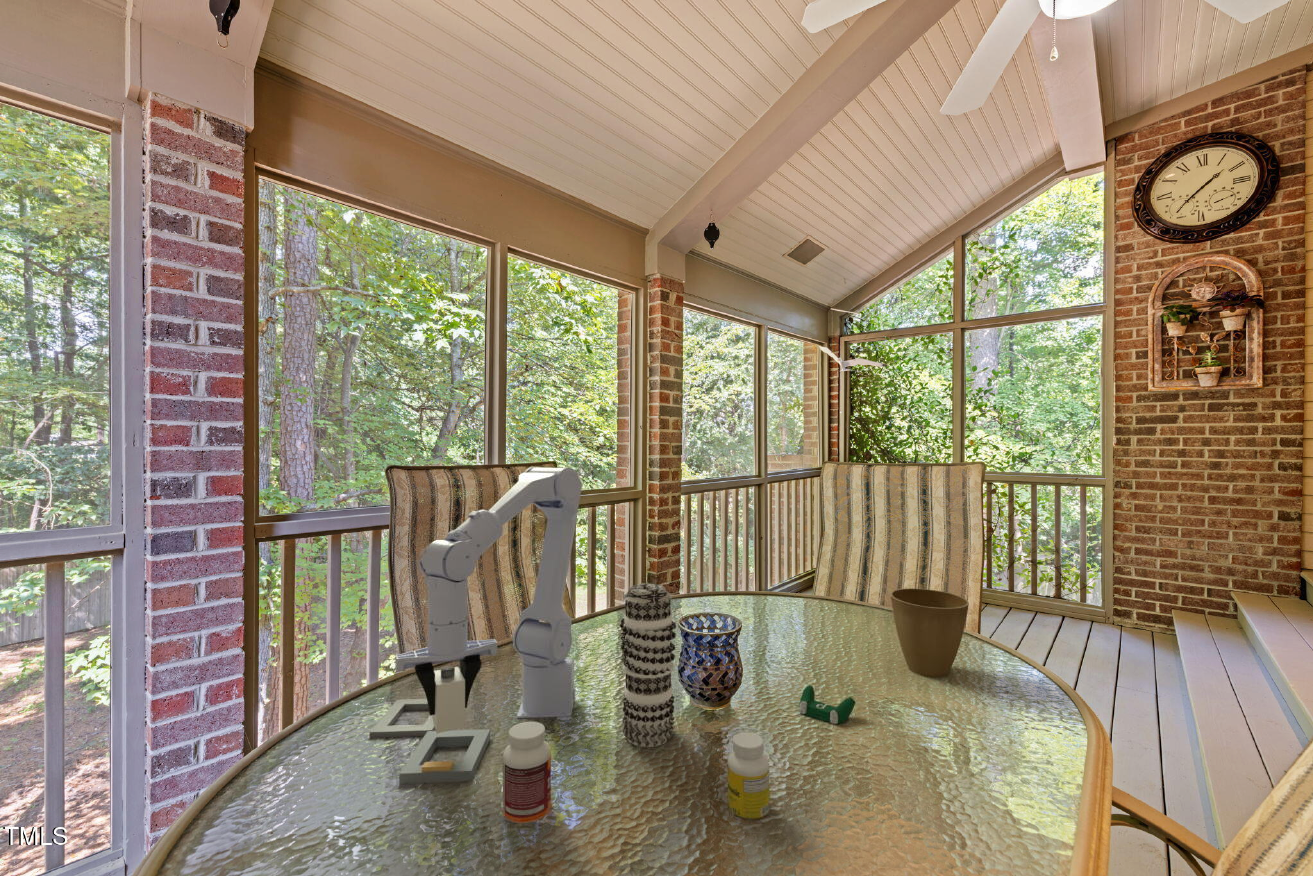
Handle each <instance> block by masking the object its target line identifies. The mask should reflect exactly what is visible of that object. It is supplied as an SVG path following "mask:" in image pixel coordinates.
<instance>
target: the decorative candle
mask: <svg viewBox="0 0 1313 876" xmlns="http://www.w3.org/2000/svg"><path fill="white" fill-rule="evenodd" d="M672 598H673V594H671V593H669V592H668V590H667V589H666V587H665V586H663V585H661V584H657V583H651V582H648V583H647V582H646V583H645V582H644V583H638V584H634V585H632V586H631V587H630V588H629V589H628V591H627V592H626V593H625V594H623V595H622V599H624V600H625V603H624V605H625V608H624V609H625V611H624V612H625V613H624V615H623V616H624V618H622V619H621V620H620V623H619V627H620V628H621V633H620V635H621V636H620V640H621V645H620V649H621V650H622V652H621V653H622V655H621V657H622V658H621V662H622V663H623V664H622V671H623V672H624V673H625V683H624V694H623V696H622V702H623V707H622V712H623V717H622V719H621V720H622V724H623V727H622V730H621V731H622V733H623V735H624V737H625V739H627V741H628V742H629V743H630V744H631V745H632V744H633V745H635V746H637V747H643V748H651V747H657V746H662V745H663V744H666V743H667V742H668V741H669V740H670V739H671V738H672V736H673V735H674V734H675V731H674V730H675V726H674V725H675V721H674V720H675V717H674V714H673V713H674V712H675V706H674V703H675V696H674V694H673V685H672V684H673V683H672V672H673V671H674V670H675V669H674V668H675V667H674V662H673V661H674V660H675V658H676V655H675V654H674V653H673V652H674V651H675V650H676V645H675V644H674V643H672V642H671V641H672V640H673V639H675V638H676V637H677V636H676V635H677V634H676V632H675V631H673V630H674V629H676V628H677V624H676V622H674V621H673V616H672V609H671V608H672V607H671V605H672V601H671V599H672Z"/></svg>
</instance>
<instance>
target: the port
mask: <svg viewBox="0 0 1313 876" xmlns="http://www.w3.org/2000/svg"><path fill="white" fill-rule="evenodd" d="M490 741H491V729H490V728H489V729H487V728H486V729H454V730H450V731H446V732H441V733H436V730H435V731H427V733H426V734H425V736H422V739H421V740H420V742H419V744H418V745H417V747H416V748H415V750H414V751H413V752H412V754H411V755H410V757H409V759H408V760H407V762H406V763H405V765H404V766H403V767H402V769H401V770H400V772H399V775H398V776H399V777H398V778H399V781H398V782H399V785H404V784H405V785H407V784H425V783H426V784H427V783H428V784H429V783H430V784H431V783H432V784H433V783H449V782H450V783H453V782H455V783H456V782H472V780H473V778H474V776H475V775H476V771H477V769H478V767H479V765H480V763H481V760H482V758H483V756H484V753H486V750H487V747H488V745H489V743H490ZM448 747H449V748H450V747H451V748H452V747H453V748H455V747H456V748H457V747H468V748H467V750H466V752H465V754H464V757H463V759H462V761H461V763H454V760H444V761H443V760H442V761H440V760H439V761H429V760H430V758H431V757H432V755H433V754H434V752H435V750H436V749H437V748H448Z"/></svg>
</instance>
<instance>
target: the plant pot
mask: <svg viewBox="0 0 1313 876" xmlns="http://www.w3.org/2000/svg"><path fill="white" fill-rule="evenodd" d="M890 601H891V609H892V614H893V620H894V626H895V630H896V633H897V637H898V640H899V645H900V647H901V651H902V654H903V657H904V661H905V663H906V665H907V669H908V670H909V671H910V672H912V673H913V674H916V675H919V676H923V677H927V678H944V677H947V676H948V675H949V674H950V672H951V669H952V667H953V665H954V661H955V660H956V656H957V654H958V651H959V648H960V646H961V642H962V639H963V636H964V631H965V627H966V624H967V623H966V621H967V617H968V613H969V612H968V611H969V606H970V605H969V604H970V601H969V600H968V599H967V598H965V597H963V596H960V595H958V594H954V593H951V592H946V591H942V590H937V589H930V588H929V589H928V588H913V587H912V588H911V587H910V588H907V587H906V588H898V589H894V590H893V591H891V593H890Z"/></svg>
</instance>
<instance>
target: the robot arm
mask: <svg viewBox="0 0 1313 876" xmlns="http://www.w3.org/2000/svg"><path fill="white" fill-rule="evenodd" d="M582 487H583V481H582V480H581V479H580V477H579V475H578V473H577V471H576V470H575V469H574V468H572V467H569V466H568V467H567V466H566V467H539V466H530V467H528V468H527V469H526V470H524V472H522V473H520V474H519V475H518V479H517V482H516V483H515V484H514V485H513V486H512V487H511V488H510V489H509V490H508V491H507V492H506V493H505V494H504V495H503V496H502V497H501V498H500V499H498V501H497V502H496V503H494V504H493V506H492V507H491V508H490V509H488V510H486V509H478V510H473V511H471V512H470V513H469V514H468V518H467V519H466V520H465V521H464V522H462V523H461V524H460V525H459V526H458V527H456V528H455V529H451V530H450V531H449V532H447V535H446V536H445V538H444V539H437V540H434V541H432V542H430V544H429V545H427V547H425V549H424V550H423V552H422V555H421V559H419V560H418V566H419V570H420V572H421V573H422V574H423V576H424V577H425V578H424V579H425V586H426V587H427V646H426V647H423V648H419V649H415V650H412V651H408V652H404V653H400V654H398V653H397V654H395V663H394V664H395V666H394V667H395V672H396V673H399V672H404V671H405V670H408V669H414V671H415V673H416V674H415V675H416V677H417V679H418V681H419V682H420V685H421V686H422V689H423V691H424V693H425V697H426V698H425V699H427V702H428V709H427V710H428V714H429V716H430V715H435V699H434V685H435V673H434V671H435V670H434V669H435V668H434V665H436V664H437V665H438V664H441V663H442V664H443V663H448V662H452V661H453V662H455V661H459V669H460V671H461V673H462V675H463V677H464V679H465V709H467V708H468V702H469V699H470V693H471V691H472V687H473V684H474V682H475V680H476V678H477V676H478V674H479V672H480V670H481V668H482V659H481V657H484V656H490V657H491V656H493V657H494V656H497V655H498V642H497V640H496V639H495V638H493V639H481V640H469V639H468V626H469V625H468V620H469V619H468V593H469V592H468V590H469V589H468V585H469V583H468V577H470V576H472V575H473V573H474V571H475V568H476V566H477V562H478V561H479V559H480V558H481V557H480V556H482V555H483V554H484V553H485V552H486V551H487V550H488V549H490V547H491V546H492V545H493V544H494V543H496V542H497V541H498V540H499V539H500V538H502V535H503V533H504V526H505V524H507V523H508V522H509V521H511V520H512V519H513V518H514V517H515V516H517V515H518V514H520V513H521V512H522V511H524V510H525V509H526V508H527V507H529V506H530V505H531V504H534V506H535V507H537V508H538V510H540V511H542V513H543V514H544V515H545V517H546V519H547V521H546V527H545V533H544V539H543V543H542V550H541V555H540V561H539V566H538V571H537V578H536V582H535V589H534V594H533V600H532V603H531V604H530V605H529V606H528V607H527V608H525V609H523V610H522V611H521V612H520V617H519V621H518V623H517V625H516V627H515V629H514V632H513V636H512V645H513V648H514V650H515V651H516V653H518V654H519V660H521V661H522V667H521V668H522V674H521V675H522V679H521V680H522V686H521V687H522V692H521V693H522V701H521V703H520V706H519V709H518V711H517V714H516V718H517V719H534V718H537V719H538V718H562V717H563V718H565V717H566V718H567V717H571V716H572V714H573V708H574V701H576V689H575V660H574V658H570V657H569V658H568V655H569V653H570V651H571V649H572V644H573V635H572V634H573V633H572V625H573V623H572V622H573V619H572V618H571V616H569V614H568V613H567V612H566V611H565V609H564V608H563V604H564V597H565V592H566V591H565V590H566V584H567V579H568V575H569V574H568V573H569V567H570V560H571V555H572V549H573V543H574V535H575V531H576V526H577V525H576V524H577V518H578V512H579V506H580V500H581V493H582Z"/></svg>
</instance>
